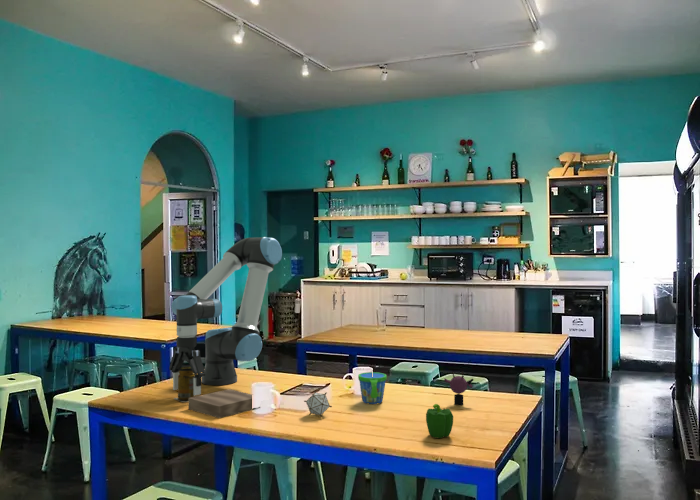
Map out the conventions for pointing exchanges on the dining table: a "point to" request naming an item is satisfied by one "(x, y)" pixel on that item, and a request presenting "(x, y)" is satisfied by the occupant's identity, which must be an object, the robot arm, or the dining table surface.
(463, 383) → the figurine
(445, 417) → the bell pepper
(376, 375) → the snack cup
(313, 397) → the game die
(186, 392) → the condiment
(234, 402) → the block
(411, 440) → the dining table surface
